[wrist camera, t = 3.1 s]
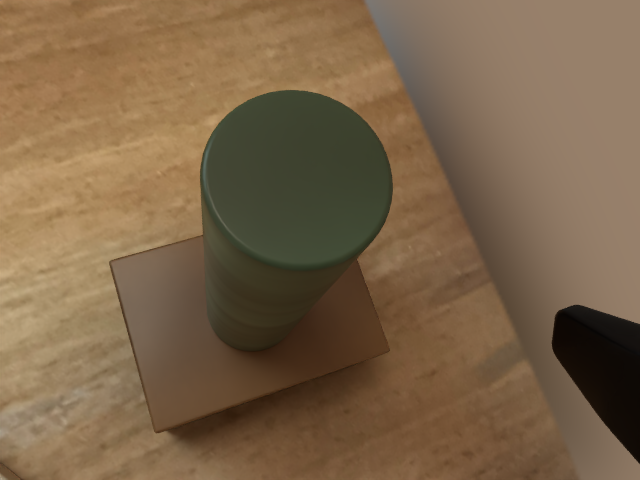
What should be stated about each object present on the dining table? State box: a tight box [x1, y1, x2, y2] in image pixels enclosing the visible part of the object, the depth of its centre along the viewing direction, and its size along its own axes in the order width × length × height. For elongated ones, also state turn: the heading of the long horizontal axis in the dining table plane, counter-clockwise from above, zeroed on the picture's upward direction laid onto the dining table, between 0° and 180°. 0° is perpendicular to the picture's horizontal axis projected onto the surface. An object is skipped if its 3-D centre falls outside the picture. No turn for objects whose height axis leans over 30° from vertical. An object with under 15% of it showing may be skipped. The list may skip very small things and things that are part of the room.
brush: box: [109, 90, 393, 433], centre depth 14 cm, size 5×7×13 cm
